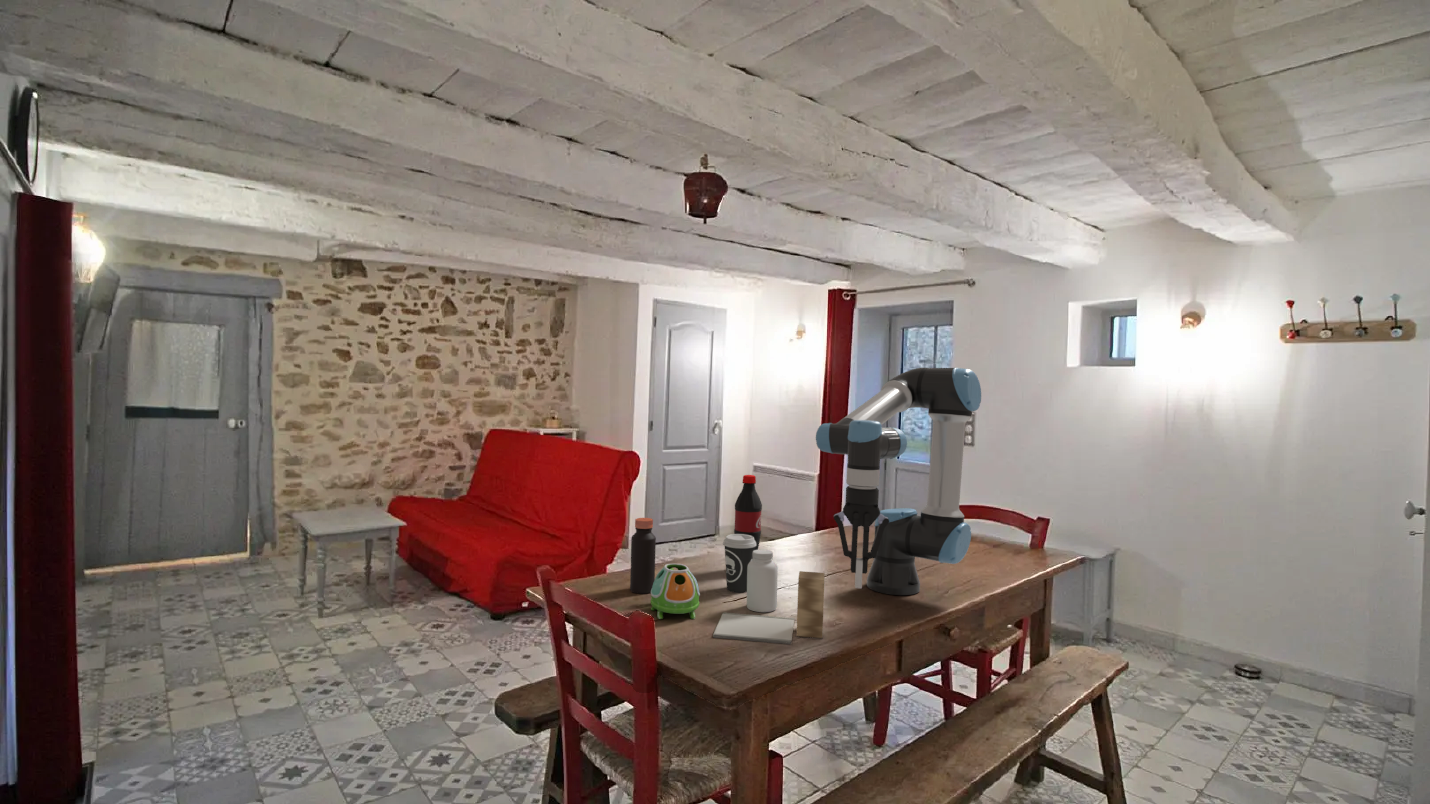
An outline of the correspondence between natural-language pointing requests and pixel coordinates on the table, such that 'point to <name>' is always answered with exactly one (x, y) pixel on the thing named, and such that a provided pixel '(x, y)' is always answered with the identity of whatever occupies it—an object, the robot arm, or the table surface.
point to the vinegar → (642, 557)
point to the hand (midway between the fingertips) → (858, 586)
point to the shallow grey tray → (755, 628)
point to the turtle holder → (675, 591)
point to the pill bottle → (762, 582)
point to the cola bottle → (748, 510)
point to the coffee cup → (738, 560)
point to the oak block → (810, 605)
